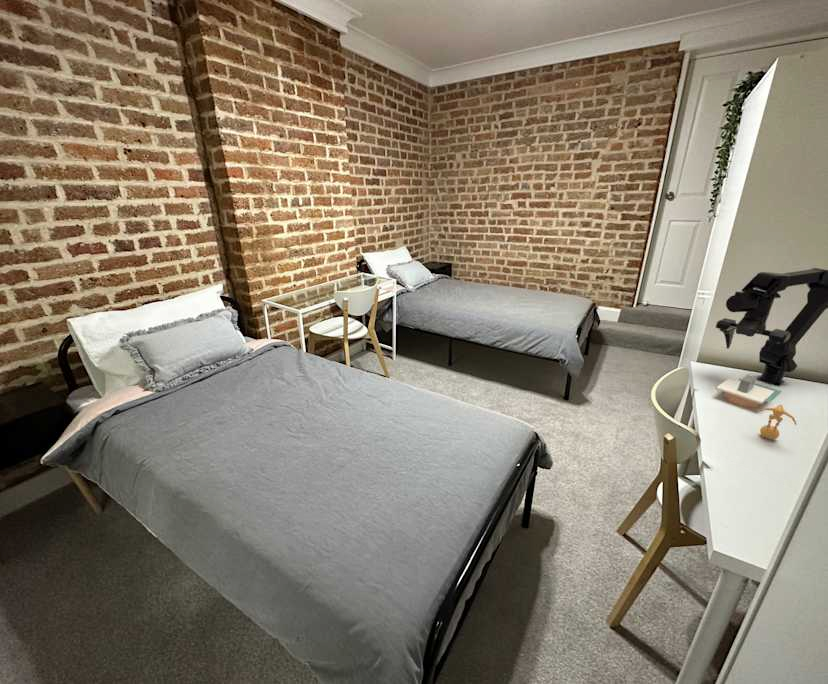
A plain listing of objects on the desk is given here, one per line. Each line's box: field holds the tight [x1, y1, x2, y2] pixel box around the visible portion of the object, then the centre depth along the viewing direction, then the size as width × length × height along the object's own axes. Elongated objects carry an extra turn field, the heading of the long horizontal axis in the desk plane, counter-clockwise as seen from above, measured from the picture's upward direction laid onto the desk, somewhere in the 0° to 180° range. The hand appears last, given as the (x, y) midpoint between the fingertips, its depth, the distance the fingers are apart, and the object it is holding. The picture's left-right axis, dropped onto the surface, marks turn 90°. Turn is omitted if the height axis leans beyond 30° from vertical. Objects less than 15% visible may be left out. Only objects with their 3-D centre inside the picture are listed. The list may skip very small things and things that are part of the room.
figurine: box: [755, 404, 797, 440], centre depth 103 cm, size 8×6×12 cm
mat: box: [738, 378, 783, 403], centre depth 131 cm, size 12×12×1 cm
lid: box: [716, 374, 774, 405], centre depth 122 cm, size 12×12×5 cm
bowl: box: [722, 391, 761, 409], centre depth 124 cm, size 9×9×4 cm
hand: (743, 352), depth 130 cm, fingers open, 9 cm apart
